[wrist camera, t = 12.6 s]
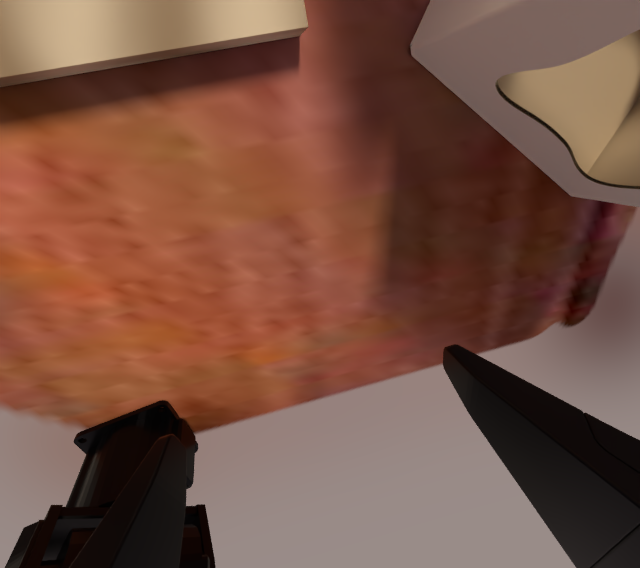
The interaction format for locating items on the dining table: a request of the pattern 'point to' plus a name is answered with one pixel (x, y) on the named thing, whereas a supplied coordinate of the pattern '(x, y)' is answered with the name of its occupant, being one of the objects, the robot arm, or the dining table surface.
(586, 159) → the gable box
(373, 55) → the dining table surface
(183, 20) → the base board
